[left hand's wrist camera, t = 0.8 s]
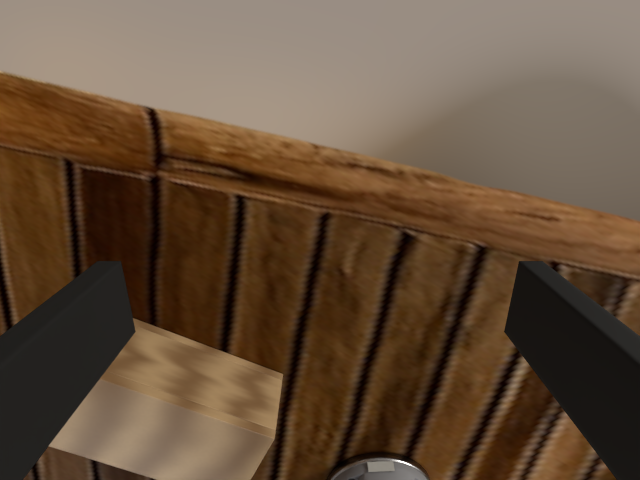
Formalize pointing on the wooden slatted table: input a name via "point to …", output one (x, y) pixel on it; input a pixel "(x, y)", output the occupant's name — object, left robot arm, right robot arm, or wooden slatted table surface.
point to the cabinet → (176, 411)
